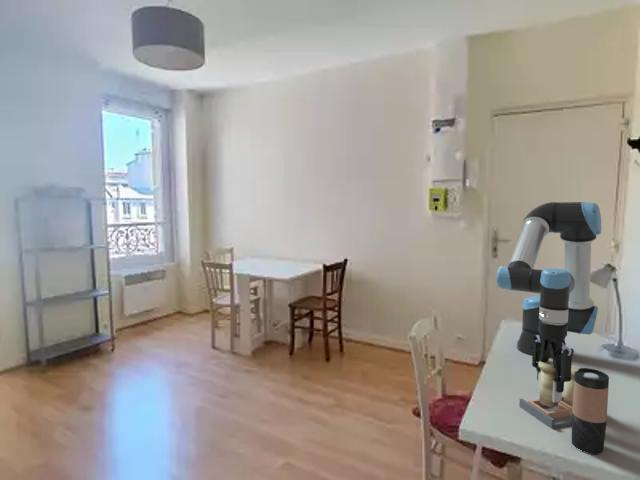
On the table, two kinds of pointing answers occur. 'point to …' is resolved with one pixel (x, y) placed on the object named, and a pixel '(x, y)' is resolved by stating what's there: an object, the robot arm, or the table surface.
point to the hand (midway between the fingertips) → (549, 396)
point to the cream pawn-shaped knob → (547, 383)
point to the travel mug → (589, 410)
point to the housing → (557, 414)
